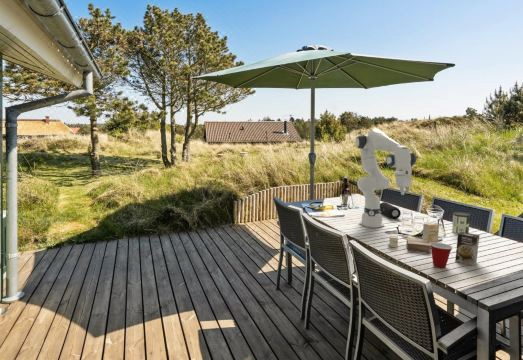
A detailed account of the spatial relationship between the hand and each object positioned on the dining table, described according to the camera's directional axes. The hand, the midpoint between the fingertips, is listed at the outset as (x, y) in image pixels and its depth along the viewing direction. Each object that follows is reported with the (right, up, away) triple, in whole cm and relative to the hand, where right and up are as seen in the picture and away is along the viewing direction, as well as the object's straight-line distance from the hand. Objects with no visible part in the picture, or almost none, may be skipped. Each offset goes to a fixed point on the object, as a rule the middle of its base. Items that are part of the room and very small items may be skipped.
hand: (405, 194), depth 188 cm
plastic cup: (+6, -38, -26) cm, 46 cm away
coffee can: (+54, -30, +29) cm, 68 cm away
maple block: (-5, -33, +5) cm, 34 cm away
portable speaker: (+23, -23, +78) cm, 85 cm away
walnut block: (+8, -34, -1) cm, 35 cm away
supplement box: (+20, -33, +9) cm, 40 cm away
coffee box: (+23, -37, -22) cm, 49 cm away
